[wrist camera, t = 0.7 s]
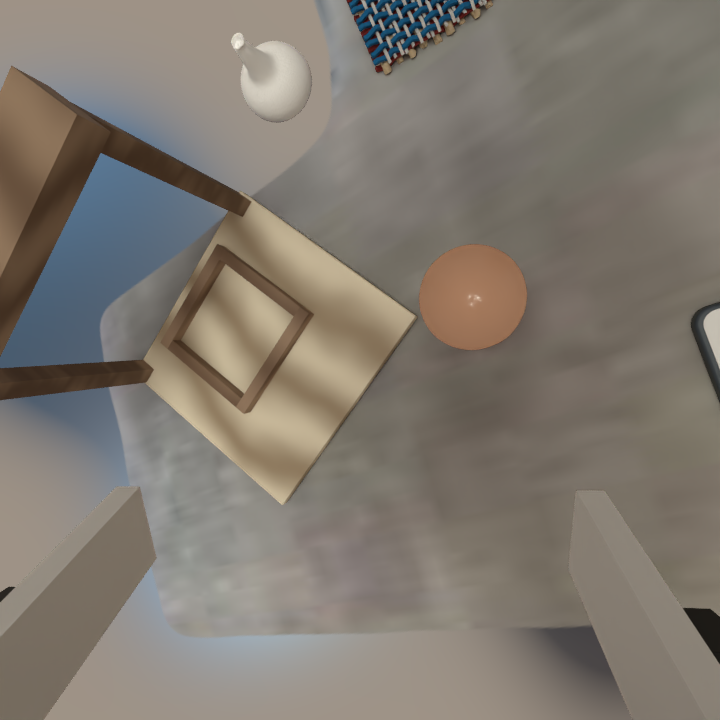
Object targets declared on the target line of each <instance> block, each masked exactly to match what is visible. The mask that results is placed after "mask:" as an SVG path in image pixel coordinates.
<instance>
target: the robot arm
mask: <svg viewBox="0 0 720 720" xmlns="http://www.w3.org/2000/svg"><path fill="white" fill-rule="evenodd" d="M155 560H156V554H155V550H154V546H153V541H152V537H151V533H150V528H149V524H148V520H147V516H146V511H145V507H144V503H143V499H142V494H141V490H140V487H116V488H115V489H114V490H113V491H112V492H111V493H110V494H109V495H108V496H107V497H106V498H105V499H104V500H103V501H102V502H101V503H100V504H99V505H98V506H97V507H96V508H95V509H94V510H93V511H92V512H91V513H90V514H89V515H88V516H87V517H86V518H85V519H84V520H83V521H82V522H81V523H80V524H79V525H78V526H77V527H76V528H75V529H74V530H73V531H72V532H71V533H70V534H69V535H68V536H67V537H66V538H65V539H64V540H62V542H61V543H59V544H58V545H57V546H56V547H55V548H54V549H53V550H52V551H51V552H50V553H49V554H48V555H47V556H46V557H45V558H44V559H43V560H42V561H41V562H40V563H39V564H38V565H37V566H36V568H34V569H33V570H32V571H31V572H30V573H29V574H28V575H27V576H26V577H25V578H24V579H23V580H22V581H21V582H20V583H19V584H18V585H17V586H16V587H8V588H6V589H5V590H3V591H2V592H0V720H44V719H45V717H46V716H47V714H48V713H49V712H50V710H51V709H52V707H53V706H54V704H55V703H56V702H57V700H58V699H59V697H60V696H61V694H62V693H63V692H64V690H65V688H66V687H67V686H68V684H69V683H70V681H71V680H72V679H73V677H74V676H75V674H76V673H77V671H78V670H79V669H80V667H81V666H82V664H83V663H84V661H85V660H86V659H87V657H88V656H89V654H90V653H91V651H92V650H93V649H94V647H95V646H96V644H97V643H98V641H99V640H100V638H101V637H102V636H103V634H104V633H105V631H106V630H107V628H108V627H109V625H110V624H111V623H112V621H113V620H114V618H115V617H116V616H117V614H118V613H119V611H120V610H121V608H122V607H123V606H124V604H125V603H126V601H127V600H128V598H129V597H130V596H131V594H132V593H133V591H134V590H135V588H136V587H137V585H138V584H139V583H140V581H141V580H142V578H143V577H144V575H145V574H146V573H147V571H148V570H149V568H150V567H151V565H152V564H153V563H154V561H155ZM568 570H569V572H570V575H571V577H572V579H573V582H574V584H575V586H576V589H577V591H578V593H579V596H580V598H581V600H582V603H583V605H584V607H585V610H586V612H587V614H588V617H589V619H590V621H591V624H592V626H593V628H594V631H595V633H596V636H597V638H598V640H599V643H600V645H601V647H602V649H603V652H604V654H605V657H606V659H607V661H608V664H609V666H610V668H611V671H612V673H613V675H614V678H615V680H616V682H617V685H618V687H619V689H620V692H621V694H622V697H623V699H624V701H625V703H626V706H627V708H628V711H629V713H630V715H631V717H632V720H720V617H719V616H718V615H717V614H716V613H714V612H713V611H712V610H711V609H698V608H682V607H681V605H680V604H679V602H678V601H677V599H676V598H675V596H674V595H673V593H672V592H671V590H670V589H669V587H668V586H667V584H666V583H665V581H664V580H663V578H662V577H661V575H660V574H659V572H658V571H657V569H656V568H655V566H654V564H653V563H652V561H651V560H650V558H649V557H648V555H647V554H646V552H645V551H644V549H643V548H642V546H641V545H640V543H639V542H638V540H637V539H636V537H635V536H634V534H633V533H632V531H631V530H630V528H629V527H628V525H627V524H626V522H625V521H624V519H623V518H622V516H621V515H620V513H619V512H618V510H617V509H616V507H615V506H614V504H613V503H612V501H611V500H610V498H609V497H608V495H607V494H606V492H605V491H596V490H576V496H575V506H574V516H573V525H572V535H571V545H570V555H569V564H568Z"/></svg>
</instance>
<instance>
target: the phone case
mask: <svg viewBox="0 0 720 720" xmlns="http://www.w3.org/2000/svg"><path fill="white" fill-rule="evenodd" d="M691 328H692V331H693V334H694V336H695V339H696V342H697V344H698V347H699V349H700V352H701V355H702V357H703V360H704V362H705V365H706V368H707V370H708V373H709V376H710V378H711V381H712V383H713V386H714V389H715V391H716V394H717V397H718V399H719V402H720V302H719V303H715V304H712V305H709V306H706V307H704V308H702V309H700V310H698V311H697V312H696V313H695V315H694V316H693V318H692V322H691Z"/></svg>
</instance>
